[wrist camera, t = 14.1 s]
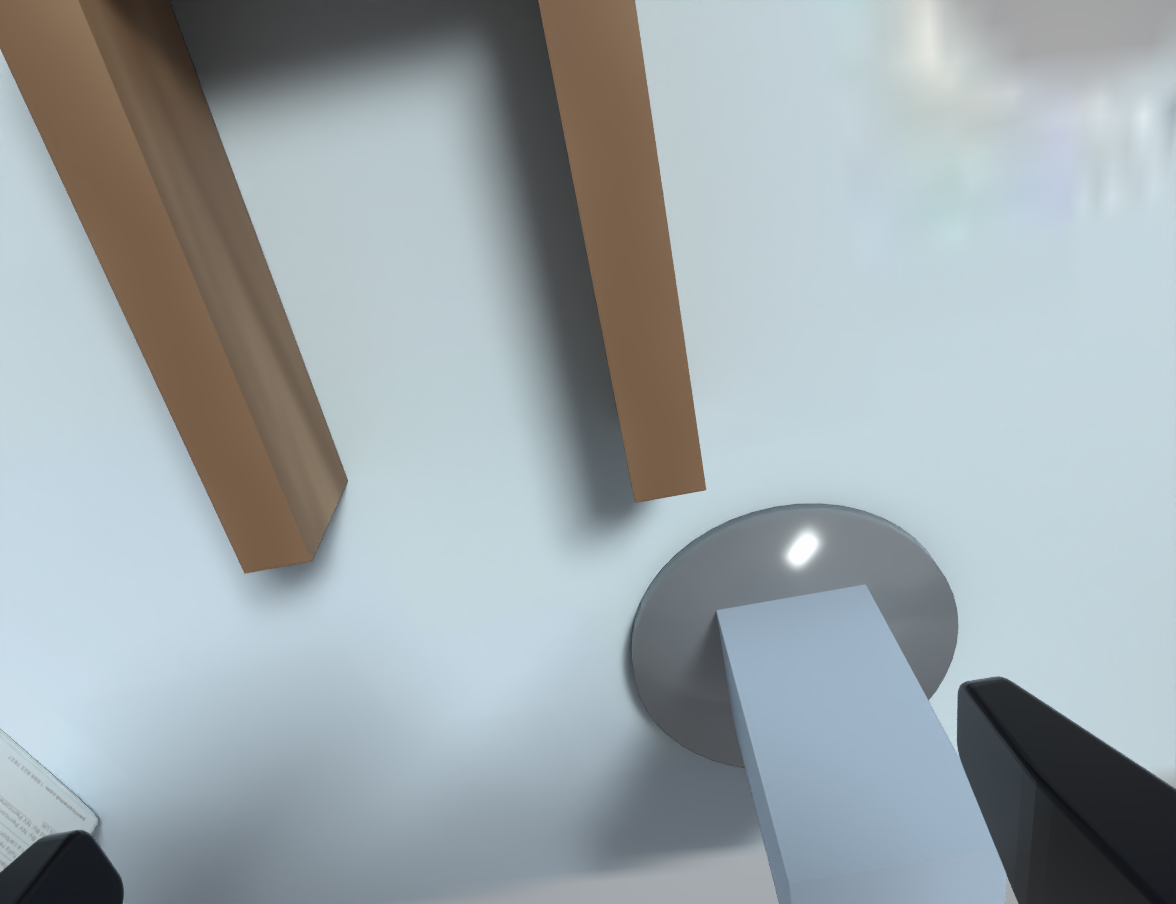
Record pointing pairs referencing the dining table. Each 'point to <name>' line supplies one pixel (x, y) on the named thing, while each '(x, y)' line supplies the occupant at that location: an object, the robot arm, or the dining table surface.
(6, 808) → the supplement box
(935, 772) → the block
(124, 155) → the frame
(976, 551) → the dining table surface
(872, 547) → the coaster
